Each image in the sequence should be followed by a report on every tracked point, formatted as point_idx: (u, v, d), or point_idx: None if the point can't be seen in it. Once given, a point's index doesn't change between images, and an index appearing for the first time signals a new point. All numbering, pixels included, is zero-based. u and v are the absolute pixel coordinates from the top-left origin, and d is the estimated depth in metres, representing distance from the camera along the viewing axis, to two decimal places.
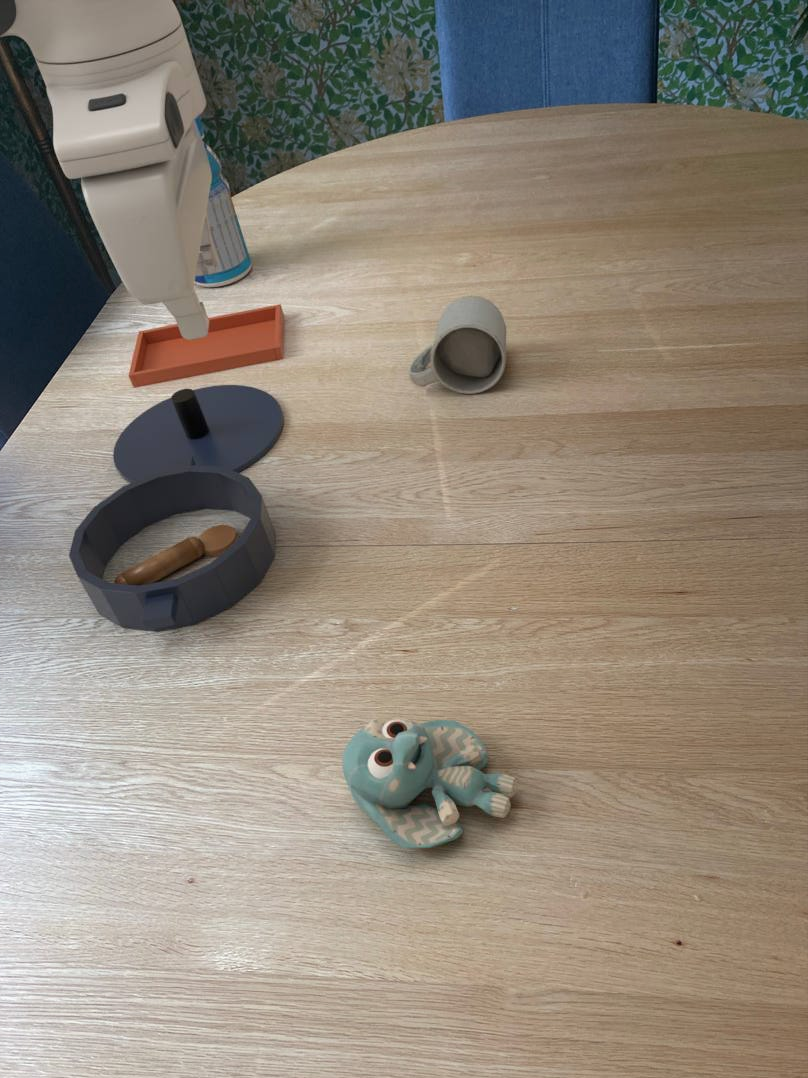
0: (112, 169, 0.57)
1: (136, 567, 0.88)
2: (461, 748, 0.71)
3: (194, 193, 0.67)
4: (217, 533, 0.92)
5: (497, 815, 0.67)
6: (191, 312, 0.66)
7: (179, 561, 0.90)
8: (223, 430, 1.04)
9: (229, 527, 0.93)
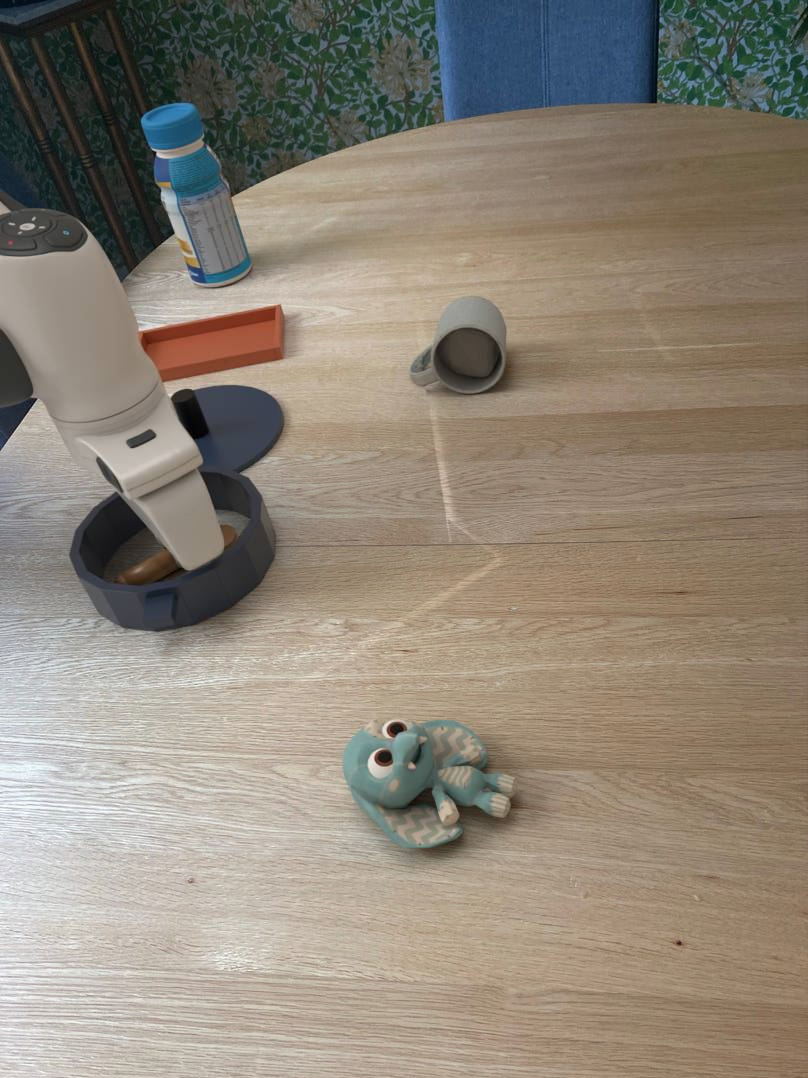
0: (164, 484, 0.76)
1: (136, 567, 0.88)
2: (461, 748, 0.71)
3: None
4: None
5: (497, 815, 0.67)
6: None
7: None
8: (223, 430, 1.04)
9: (228, 527, 0.93)
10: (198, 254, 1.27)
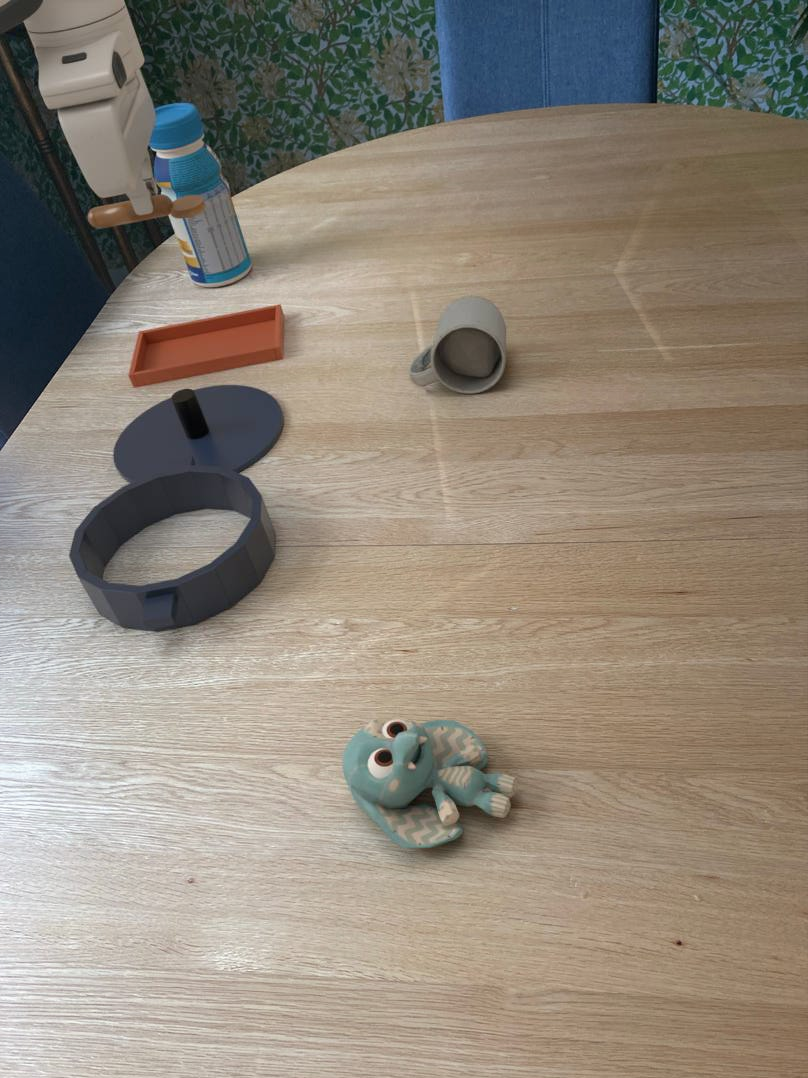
0: (77, 102, 0.86)
1: (108, 205, 1.01)
2: (461, 748, 0.71)
3: (139, 125, 0.96)
4: (189, 200, 1.02)
5: (497, 815, 0.67)
6: (140, 194, 0.98)
7: None
8: (223, 430, 1.04)
9: (200, 198, 1.02)
10: (198, 254, 1.27)
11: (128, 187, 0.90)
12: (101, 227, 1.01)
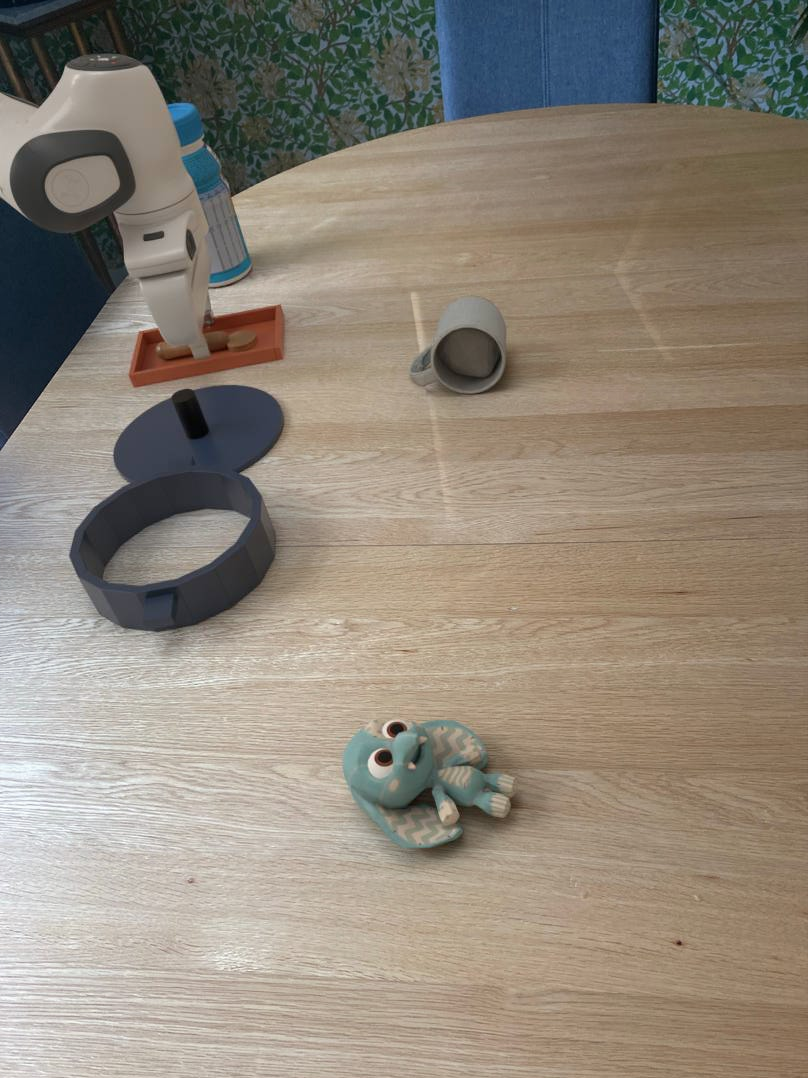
0: (156, 273, 1.02)
1: None
2: (461, 748, 0.71)
3: (201, 278, 1.12)
4: (243, 335, 1.17)
5: (497, 815, 0.67)
6: (200, 345, 1.12)
7: None
8: (223, 430, 1.04)
9: (253, 333, 1.17)
10: None
11: (196, 339, 1.06)
12: (167, 358, 1.17)
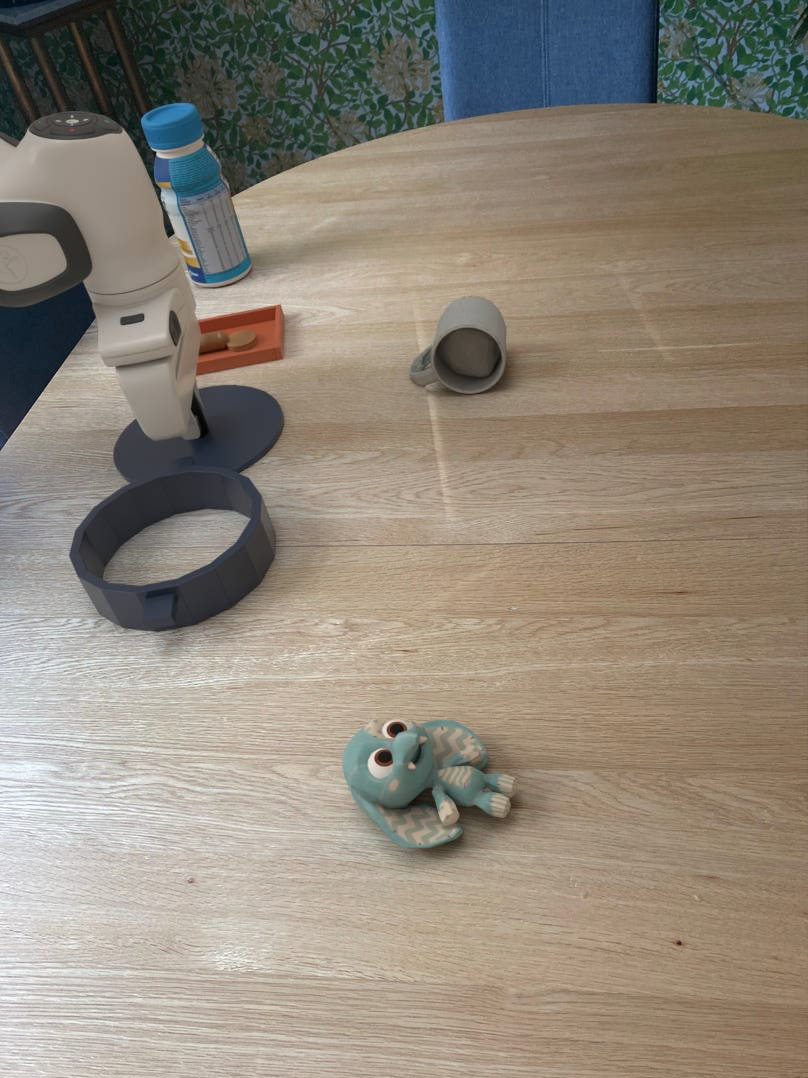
0: (135, 362, 0.89)
1: None
2: (461, 748, 0.71)
3: (188, 358, 0.99)
4: (243, 335, 1.17)
5: (497, 815, 0.67)
6: (189, 423, 1.01)
7: (204, 346, 1.16)
8: (223, 430, 1.04)
9: (253, 333, 1.17)
10: (198, 254, 1.27)
11: (181, 433, 0.93)
12: None
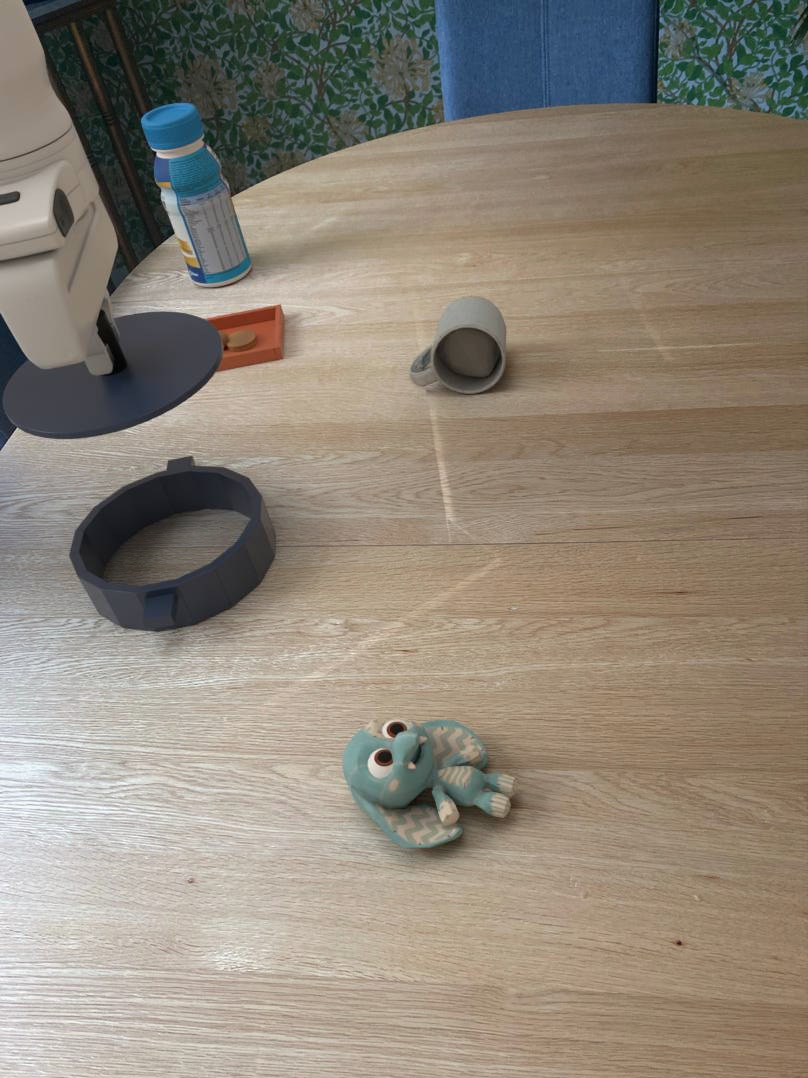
0: (8, 257, 0.66)
1: None
2: (461, 748, 0.71)
3: (94, 266, 0.76)
4: (243, 335, 1.17)
5: (497, 815, 0.67)
6: (96, 353, 0.77)
7: None
8: (145, 364, 0.81)
9: (253, 333, 1.17)
10: (198, 254, 1.27)
11: (77, 357, 0.70)
12: None
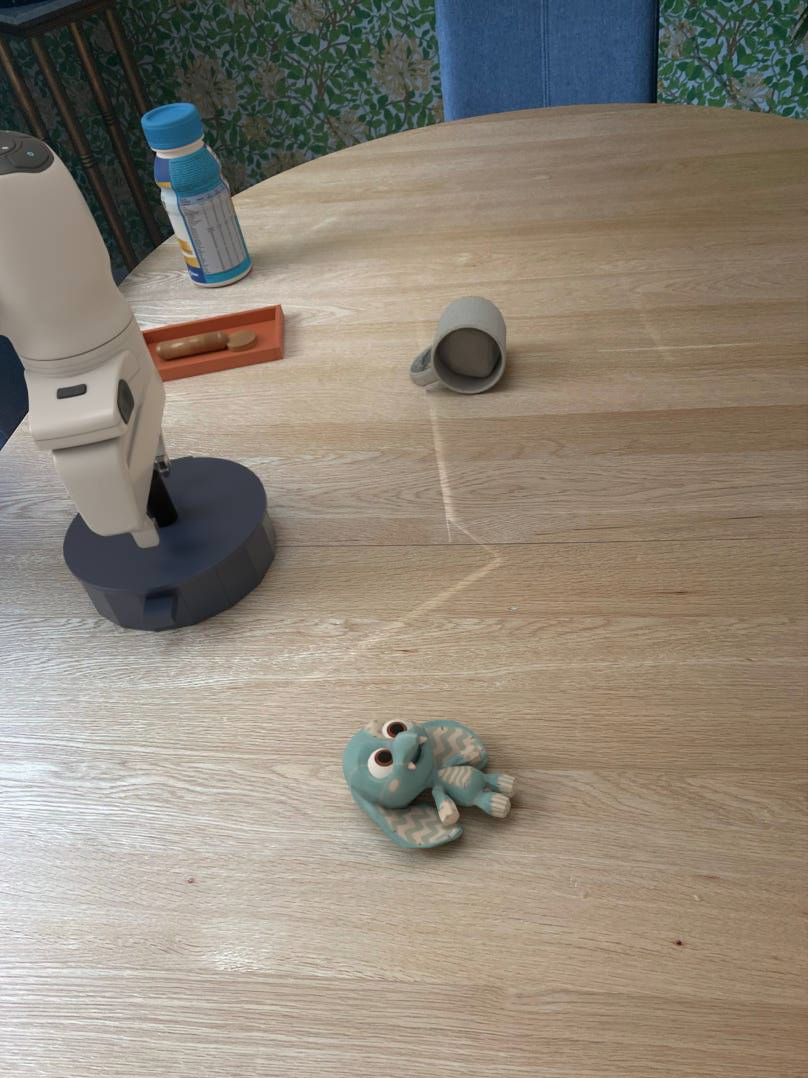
0: (75, 444, 0.72)
1: (173, 340, 1.16)
2: (461, 748, 0.71)
3: (147, 430, 0.82)
4: (243, 335, 1.17)
5: (497, 815, 0.67)
6: (144, 529, 0.81)
7: (204, 346, 1.16)
8: (195, 516, 0.87)
9: (253, 333, 1.17)
10: (198, 254, 1.27)
11: (135, 527, 0.76)
12: (167, 358, 1.17)
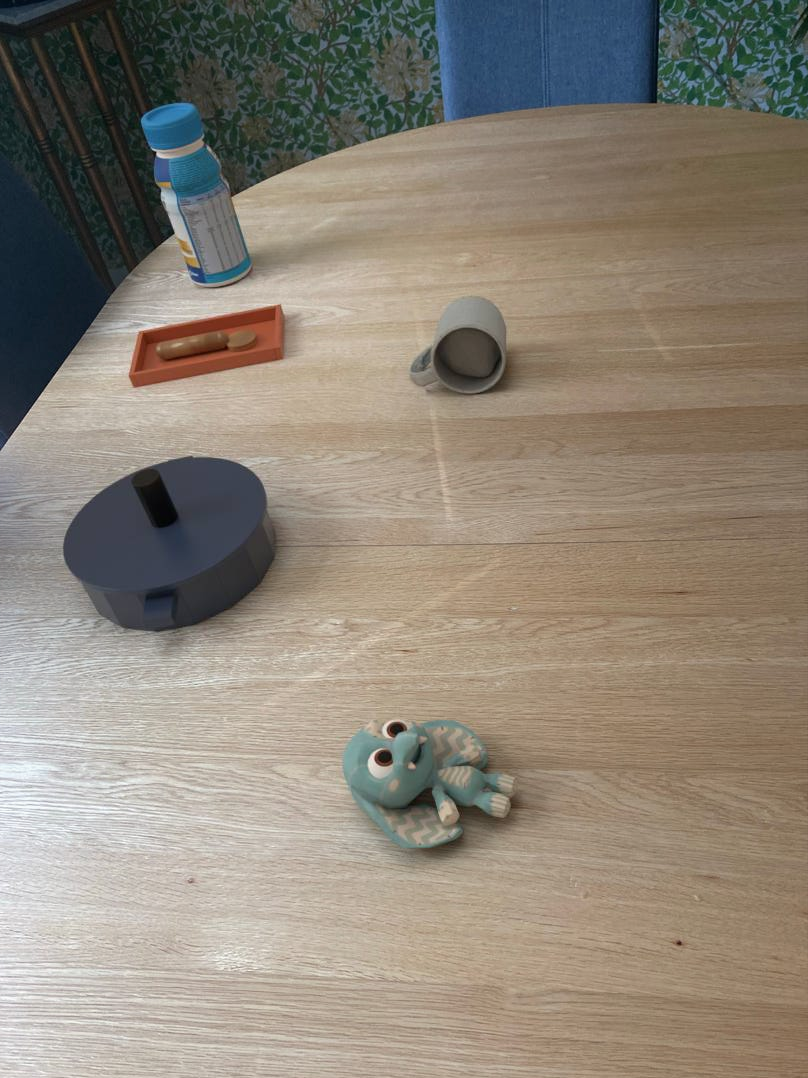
0: None
1: (173, 340, 1.16)
2: (461, 748, 0.71)
3: None
4: (243, 335, 1.17)
5: (497, 815, 0.67)
6: None
7: (204, 346, 1.16)
8: (195, 516, 0.87)
9: (253, 333, 1.17)
10: (198, 254, 1.27)
11: None
12: (167, 358, 1.17)
